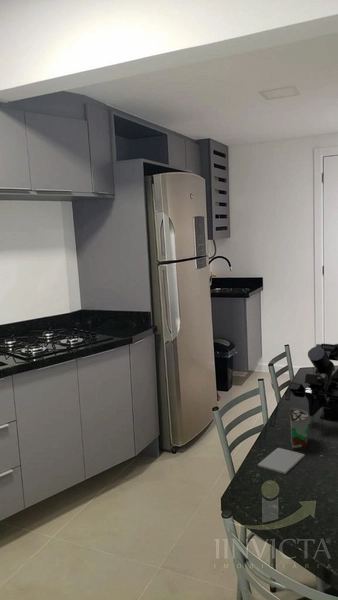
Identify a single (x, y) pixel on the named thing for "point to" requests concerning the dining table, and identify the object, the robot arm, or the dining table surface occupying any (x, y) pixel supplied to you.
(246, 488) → the dining table surface
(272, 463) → the grey mat
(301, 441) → the food container
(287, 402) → the dining table surface
